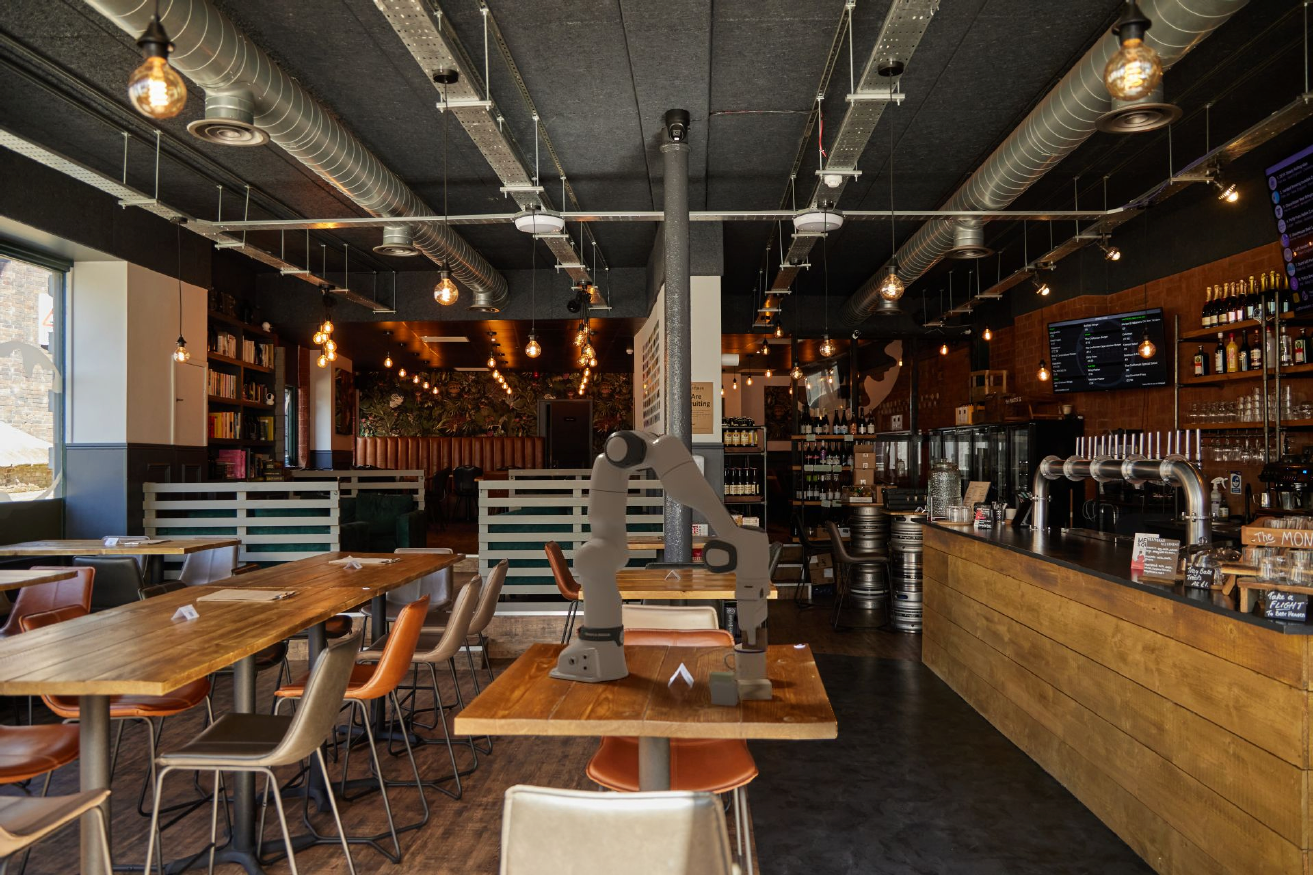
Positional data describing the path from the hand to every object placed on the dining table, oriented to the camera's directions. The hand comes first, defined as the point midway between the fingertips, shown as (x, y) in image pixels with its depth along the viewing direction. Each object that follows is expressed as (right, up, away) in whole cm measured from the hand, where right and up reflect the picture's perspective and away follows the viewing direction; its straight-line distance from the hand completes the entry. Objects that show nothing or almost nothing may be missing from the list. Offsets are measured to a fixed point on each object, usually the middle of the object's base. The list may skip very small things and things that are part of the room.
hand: (754, 642), depth 221 cm
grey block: (-8, -14, -6) cm, 17 cm away
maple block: (0, -14, 0) cm, 14 cm away
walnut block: (0, -2, 0) cm, 2 cm away
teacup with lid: (-1, -15, +18) cm, 23 cm away
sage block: (-8, -14, +4) cm, 17 cm away
